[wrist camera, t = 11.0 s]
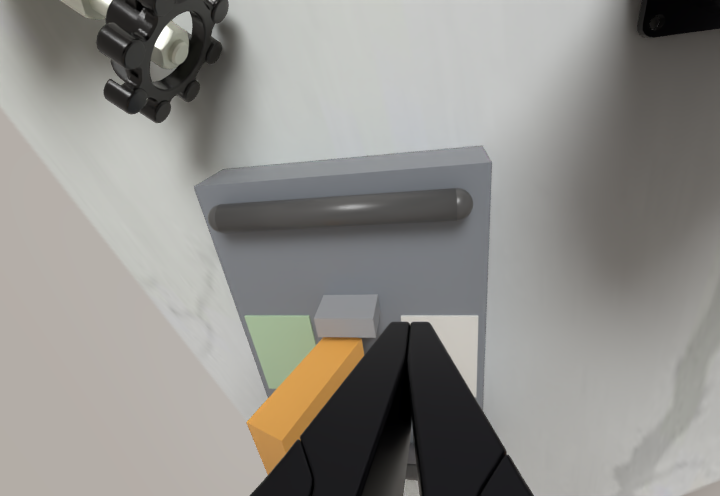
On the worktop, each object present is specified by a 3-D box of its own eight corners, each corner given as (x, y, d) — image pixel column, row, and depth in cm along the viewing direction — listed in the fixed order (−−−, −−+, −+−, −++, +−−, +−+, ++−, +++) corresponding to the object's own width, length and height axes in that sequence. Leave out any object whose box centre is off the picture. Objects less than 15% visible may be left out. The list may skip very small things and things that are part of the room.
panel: (482, 145, 18) (500, 176, 13) (475, 436, 28) (484, 507, 23) (223, 169, 21) (168, 201, 16) (301, 425, 31) (281, 487, 26)
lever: (361, 338, 19) (281, 441, 14) (372, 403, 21) (306, 510, 17) (330, 329, 20) (246, 422, 15) (344, 392, 22) (274, 490, 18)
